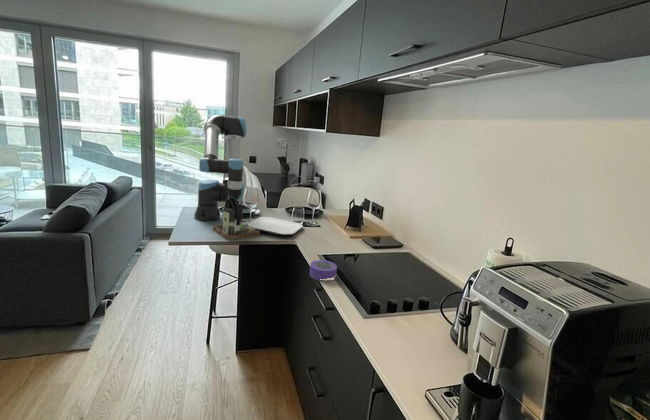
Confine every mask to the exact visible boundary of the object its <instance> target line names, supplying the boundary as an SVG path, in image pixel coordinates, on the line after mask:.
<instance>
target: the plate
mask: <svg viewBox="0 0 650 420" xmlns="http://www.w3.org/2000/svg"><path fill="white" fill-rule="evenodd" d="M246 223H247V222H246ZM247 224H248V226H252V227H254V228H255V229H256V230H258V231H260V232H264V233H268V234H271V235H278V236H293V235H294V234H296V233H298V232H299V231H300V230H301V229H303V228H304V226H303V225H302V224H301V223H300V222H296V221H291V220H286V219H281V218H276V217H273V216H272V217H271V216H260V217H257V218H256V219H254V220H251V221H249V222H248V223H247Z"/></svg>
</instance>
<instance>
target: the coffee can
mask: <svg viewBox="0 0 650 420" xmlns="http://www.w3.org/2000/svg"><path fill="white" fill-rule="evenodd" d="M224 207H225V206H224ZM224 207H223V209H222V210H223V216H222V217H223V218H222V225H223V229H222V231H223V232H225V233H226V234H228V235H232V234H240V233H242V231H241V229H242V222H243V219H240V230H239V231H234V226H235V218H236V217H235V213H236V212H237V211H234V208H233V207H231V208H228V207H225V208H224ZM243 213H244V208H242V214H243Z"/></svg>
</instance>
